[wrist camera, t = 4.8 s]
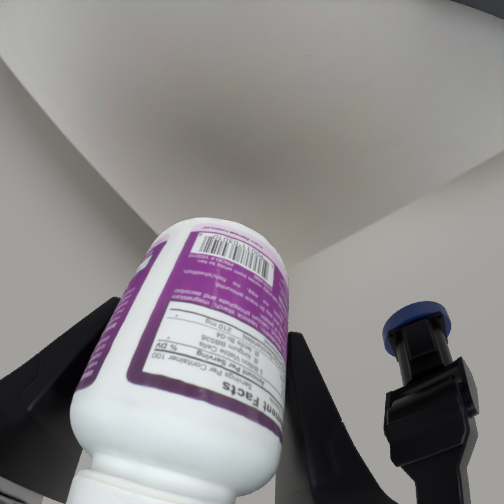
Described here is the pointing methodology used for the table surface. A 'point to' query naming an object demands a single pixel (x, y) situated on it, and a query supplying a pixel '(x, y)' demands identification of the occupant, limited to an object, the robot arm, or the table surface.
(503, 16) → the open storage box
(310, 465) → the robot arm
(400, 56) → the table surface
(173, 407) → the pill bottle
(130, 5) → the table surface
